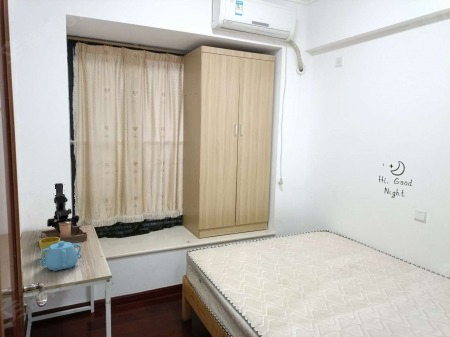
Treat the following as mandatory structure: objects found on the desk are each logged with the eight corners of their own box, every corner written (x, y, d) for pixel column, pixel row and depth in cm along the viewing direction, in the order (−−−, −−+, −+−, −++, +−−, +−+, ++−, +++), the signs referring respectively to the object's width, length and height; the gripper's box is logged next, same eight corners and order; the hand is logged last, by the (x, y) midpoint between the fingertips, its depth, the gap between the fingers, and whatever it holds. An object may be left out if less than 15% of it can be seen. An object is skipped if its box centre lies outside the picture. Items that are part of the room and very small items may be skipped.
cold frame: (41, 239, 204) (41, 231, 203) (80, 233, 219) (80, 225, 219) (46, 247, 191) (46, 237, 191) (87, 239, 207) (87, 231, 206)
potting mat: (59, 245, 195) (59, 244, 195) (76, 242, 202) (76, 241, 202) (62, 249, 188) (62, 249, 188) (80, 246, 194) (80, 246, 194)
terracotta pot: (58, 240, 204) (57, 221, 202) (70, 238, 208) (69, 220, 207) (60, 243, 198) (60, 224, 197) (72, 241, 203) (72, 222, 201)
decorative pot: (62, 275, 154) (61, 249, 153) (36, 270, 158) (35, 244, 157) (85, 263, 170) (85, 239, 168) (61, 259, 174) (60, 235, 173)
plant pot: (53, 260, 172) (53, 243, 171) (35, 259, 172) (35, 242, 171) (64, 253, 182) (63, 237, 181) (46, 252, 183) (46, 236, 182)
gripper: (47, 206, 198) (51, 227, 191) (78, 203, 210) (83, 223, 202) (45, 216, 205) (48, 236, 197) (75, 212, 217) (80, 231, 209)
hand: (65, 231), depth 201 cm, fingers closed on terracotta pot, 7 cm apart
